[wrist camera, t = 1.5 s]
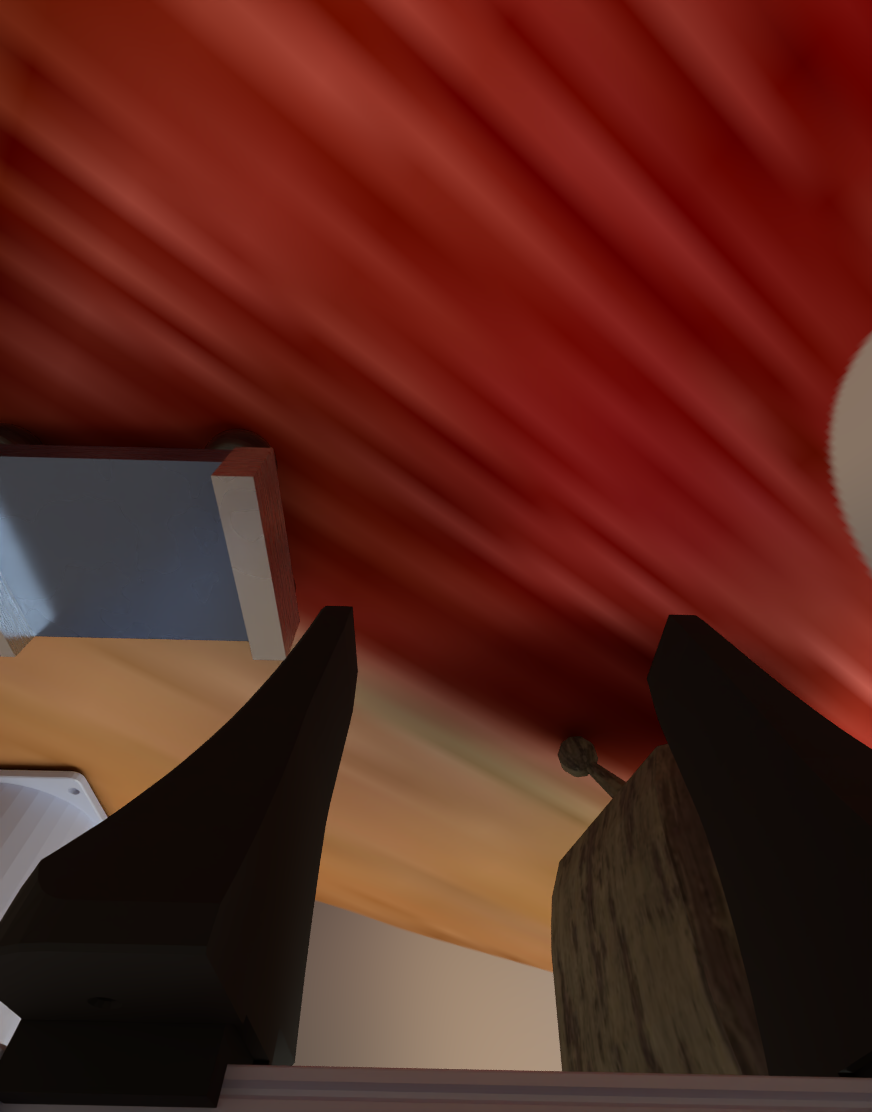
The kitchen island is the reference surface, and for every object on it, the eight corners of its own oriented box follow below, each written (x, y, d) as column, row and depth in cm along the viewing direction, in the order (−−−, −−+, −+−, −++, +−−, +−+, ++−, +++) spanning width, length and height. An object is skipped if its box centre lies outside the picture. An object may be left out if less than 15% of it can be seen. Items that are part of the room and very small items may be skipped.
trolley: (310, 595, 19) (286, 667, 16) (61, 590, 19) (-9, 661, 16) (286, 420, 15) (250, 471, 12) (-21, 412, 15) (-131, 461, 12)
